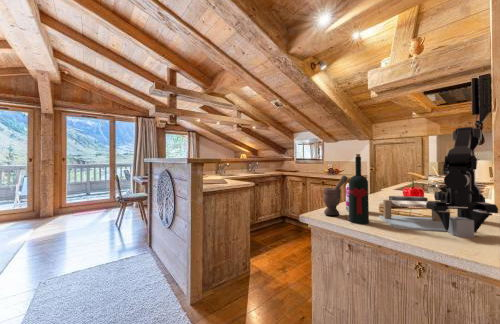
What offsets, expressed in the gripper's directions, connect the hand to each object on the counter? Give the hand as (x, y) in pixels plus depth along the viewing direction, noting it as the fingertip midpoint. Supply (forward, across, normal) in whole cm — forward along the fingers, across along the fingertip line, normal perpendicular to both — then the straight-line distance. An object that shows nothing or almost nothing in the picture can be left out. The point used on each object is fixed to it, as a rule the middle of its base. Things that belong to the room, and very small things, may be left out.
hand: (460, 230), depth 79 cm
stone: (+2, 0, 0) cm, 2 cm away
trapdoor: (-7, +8, -18) cm, 20 cm away
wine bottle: (+2, +31, -10) cm, 33 cm away
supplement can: (+2, +28, -34) cm, 44 cm away
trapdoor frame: (+2, +8, -12) cm, 14 cm away
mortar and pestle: (+2, +39, -24) cm, 46 cm away
